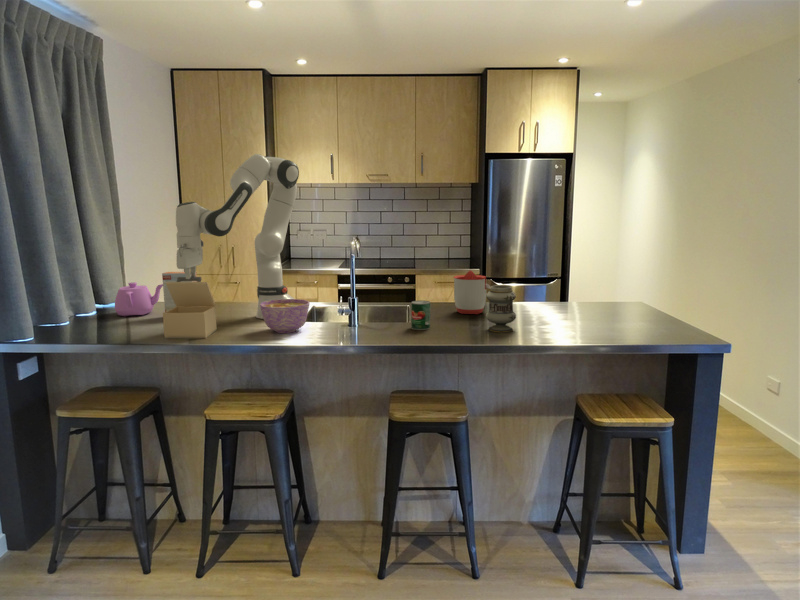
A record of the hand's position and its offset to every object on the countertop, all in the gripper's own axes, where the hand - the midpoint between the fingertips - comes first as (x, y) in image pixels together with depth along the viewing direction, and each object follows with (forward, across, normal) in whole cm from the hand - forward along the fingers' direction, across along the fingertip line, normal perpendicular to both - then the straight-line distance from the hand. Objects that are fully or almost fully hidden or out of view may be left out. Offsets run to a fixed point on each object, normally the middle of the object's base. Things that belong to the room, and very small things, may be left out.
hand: (190, 278), depth 232 cm
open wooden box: (+22, -3, 0) cm, 23 cm away
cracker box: (+22, +32, +16) cm, 42 cm away
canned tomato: (+22, +5, -93) cm, 95 cm away
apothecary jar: (+22, 0, -125) cm, 127 cm away
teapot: (+22, +42, +41) cm, 62 cm away
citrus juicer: (+21, +38, -118) cm, 126 cm away
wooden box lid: (+7, 0, 0) cm, 7 cm away
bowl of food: (+22, +2, -37) cm, 43 cm away
